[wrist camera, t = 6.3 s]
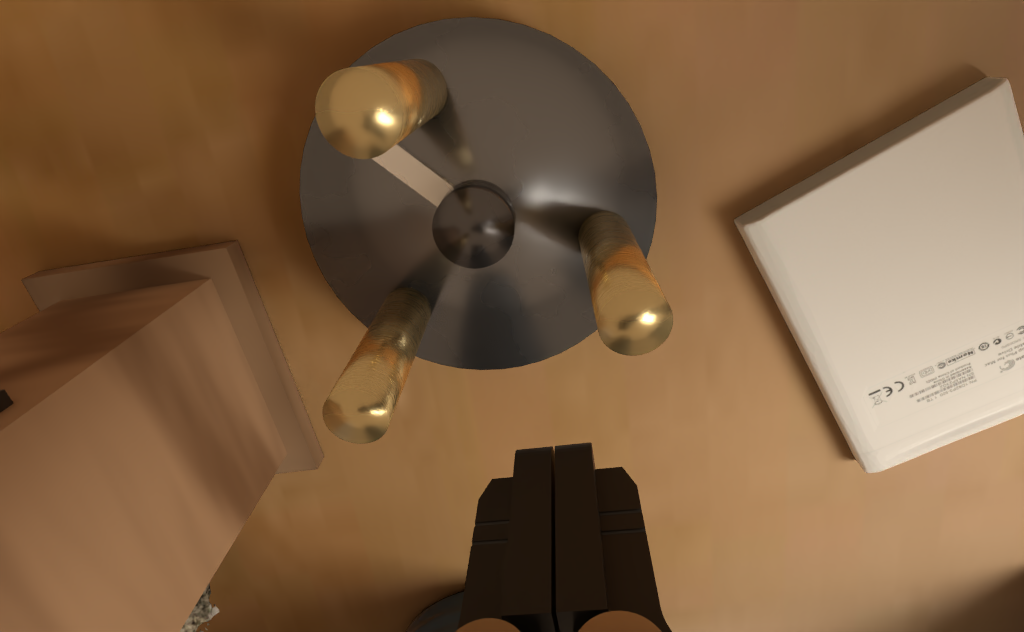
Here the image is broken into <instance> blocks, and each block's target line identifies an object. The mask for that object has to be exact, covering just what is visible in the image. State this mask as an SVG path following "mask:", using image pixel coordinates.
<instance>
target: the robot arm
mask: <svg viewBox="0 0 1024 632" xmlns="http://www.w3.org/2000/svg"><path fill="white" fill-rule="evenodd" d="M455 632H672V631H671V630H670V628H669V626H668V625H667V623H666V621H665V619H664V617H663V615H662V611H661V607H660V603H659V597H658V592H657V587H656V582H655V577H654V572H653V566H652V561H651V556H650V551H649V546H648V541H647V535H646V531H645V525H644V520H643V515H642V510H641V504H640V499H639V494H638V489H637V485H636V484H635V483H634V481H633V480H632V479H631V478H630V476H629V475H628V474H627V473H626V471H625V470H624V469H623V468H622V467H616V468H605V469H595V463H594V456H593V449H592V443H581V444H571V445H561V446H555V454H554V450H553V447H542V448H532V449H522V450H516V453H515V461H514V473H513V477H509V478H498V479H492V480H491V482H490V483H489V485H488V486H487V488H486V489H485V491H484V492H483V494H482V495H481V497H480V498H479V501H478V507H477V513H476V520H475V527H474V532H473V538H472V546H471V551H470V557H469V564H468V570H467V576H466V583H465V589H464V595H463V601H462V608H461V614H460V620H459V624H458V628H457V630H456V631H455Z"/></svg>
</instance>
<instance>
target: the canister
mask: <svg viewBox="0 0 1024 632" xmlns="http://www.w3.org/2000/svg"><path fill="white" fill-rule="evenodd" d="M463 595H464V592H461V593H458V594H455V595H452V596H449V597H447V598H445V599H442V600H440V601H439V602H437V603H435V604H433V605H432V606H430V607H428V608H427V609H426V610H424V611H423V612H422V613H421V614H420V615H418V616H417V617H416V618H415V620H414V621H413V622H412V623H411V624H410V626H409V627H408V629H407V631H406V632H455V631H456V630H457V628H458V624H459V620H460V614H461V608H462V601H463Z"/></svg>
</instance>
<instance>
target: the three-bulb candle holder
mask: <svg viewBox="0 0 1024 632" xmlns="http://www.w3.org/2000/svg"><path fill="white" fill-rule="evenodd" d="M315 114H316V116H315V118H314V120H313V122H312V124H311V127H310V130H309V134H308V137H307V140H306V143H305V146H304V151H303V158H302V164H301V170H300V201H301V211H302V218H303V222H304V227H305V231H306V235H307V239H308V242H309V244H310V247H311V250H312V252H313V255H314V258H315V260H316V262H317V264H318V266H319V268H320V270H321V272H322V274H323V275H324V277H325V279H326V281H327V282H328V284H329V285H330V287H331V288H332V289H333V291H334V292H335V294H336V295H337V297H338V298H339V299H340V300H341V301H342V303H343V304H344V305H345V306H346V307H347V308H348V310H349V311H350V312H351V313H352V314H353V315H354V316H355V317H356V318H357V319H359V320H360V321H361V322H362V323H363V324H364V325H365V326H366V327H367V328H368V330H367V332H366V333H365V335H364V337H363V338H362V340H361V342H360V344H359V345H358V347H357V349H356V350H355V352H354V354H353V356H352V357H351V359H350V361H349V362H348V364H347V366H346V368H345V369H344V371H343V373H342V374H341V376H340V378H339V379H338V381H337V383H336V385H335V386H334V388H333V390H332V391H331V393H330V395H329V397H328V398H327V400H326V402H325V404H324V406H323V419H324V421H325V424H326V425H327V427H328V428H329V430H330V431H331V432H332V433H333V434H335V435H336V436H337V437H339V438H341V439H343V440H345V441H347V442H351V443H357V444H365V443H370V442H373V441H376V440H378V439H379V438H381V437H382V436H383V435H384V434H385V432H386V431H387V429H388V426H389V423H390V421H391V418H392V416H393V413H394V410H395V408H396V405H397V403H398V400H399V397H400V395H401V392H402V390H403V387H404V384H405V382H406V379H407V377H408V374H409V371H410V369H411V366H412V363H413V361H414V358H415V356H417V357H419V358H421V359H425V360H428V361H431V362H434V363H438V364H441V365H446V366H452V367H457V368H464V369H477V370H491V369H506V368H512V367H519V366H524V365H528V364H531V363H535V362H539V361H542V360H544V359H547V358H549V357H552V356H554V355H557V354H559V353H561V352H563V351H565V350H567V349H569V348H571V347H572V346H574V345H576V344H578V343H579V342H581V341H582V340H584V339H585V338H586V337H588V336H589V335H591V334H592V333H593V332H595V331H596V330H597V329H598V332H599V335H600V337H601V339H602V341H603V342H604V344H605V345H606V346H607V347H609V348H610V349H611V350H613V351H615V352H617V353H620V354H623V355H630V356H634V355H642V354H646V353H648V352H651V351H653V350H655V349H656V348H658V347H659V346H660V345H661V344H662V343H663V342H664V341H665V340H666V339H667V337H668V336H669V334H670V332H671V329H672V325H673V315H672V311H671V308H670V306H669V304H668V302H667V300H666V298H665V296H664V294H663V292H662V290H661V288H660V286H659V285H658V283H657V281H656V279H655V277H654V275H653V273H652V271H651V269H650V267H649V265H648V263H647V261H646V258H647V255H648V252H649V249H650V246H651V243H652V238H653V233H654V227H655V222H656V206H657V192H656V181H655V172H654V167H653V163H652V158H651V154H650V150H649V147H648V144H647V142H646V139H645V136H644V134H643V131H642V128H641V126H640V124H639V122H638V120H637V118H636V117H635V115H634V113H633V111H632V109H631V107H630V105H629V104H628V102H627V101H626V100H625V98H624V97H623V96H622V94H621V93H620V92H619V90H618V89H617V87H616V86H615V85H614V83H613V82H612V81H611V80H610V79H609V78H608V77H607V76H606V75H605V74H604V73H603V72H602V71H601V70H600V69H599V68H598V67H597V66H596V65H595V64H594V63H593V62H591V61H590V60H589V59H587V58H586V57H585V56H583V55H582V54H581V53H579V52H578V51H577V50H576V49H574V48H573V47H571V46H569V45H567V44H566V43H564V42H562V41H560V40H558V39H557V38H555V37H553V36H551V35H549V34H547V33H544V32H541V31H539V30H536V29H534V28H531V27H528V26H526V25H522V24H518V23H513V22H509V21H504V20H500V19H490V18H476V17H467V18H454V19H443V20H439V21H435V22H430V23H426V24H421V25H418V26H415V27H413V28H410V29H408V30H405V31H403V32H400V33H398V34H395V35H393V36H391V37H390V38H388V39H386V40H385V41H383V42H381V43H379V44H378V45H376V46H374V47H373V48H371V49H370V50H369V51H368V52H366V53H365V54H364V55H363V56H361V57H360V58H359V59H358V60H356V61H355V62H354V63H353V64H352V65H351V66H350V67H349V68H345V69H341V70H338V71H336V72H334V73H332V74H331V75H330V76H328V77H327V78H326V79H325V81H324V82H323V83H322V85H321V86H320V88H319V90H318V93H317V96H316V101H315Z"/></svg>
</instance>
